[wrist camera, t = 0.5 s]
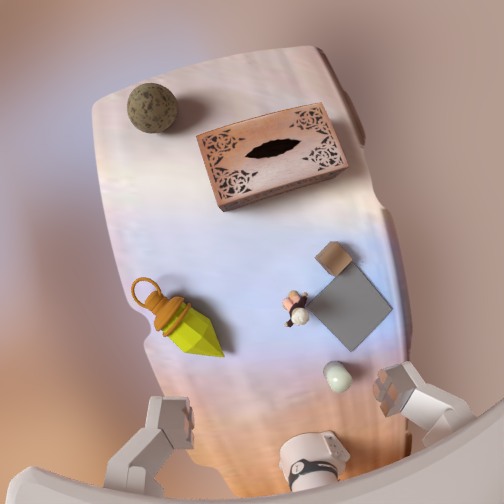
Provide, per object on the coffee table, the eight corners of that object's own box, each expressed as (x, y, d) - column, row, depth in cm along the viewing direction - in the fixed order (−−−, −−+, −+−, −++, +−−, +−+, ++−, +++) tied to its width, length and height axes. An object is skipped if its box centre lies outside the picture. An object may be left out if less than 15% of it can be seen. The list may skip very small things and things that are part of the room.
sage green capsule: (346, 368, 60) (356, 381, 53) (331, 382, 60) (339, 396, 53) (334, 356, 60) (343, 369, 53) (319, 371, 60) (326, 384, 53)
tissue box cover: (223, 212, 59) (218, 206, 49) (204, 152, 58) (195, 136, 48) (334, 177, 59) (348, 166, 49) (311, 121, 58) (321, 102, 48)
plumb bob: (240, 334, 60) (153, 260, 56) (236, 358, 51) (134, 275, 47) (215, 355, 62) (132, 287, 58) (208, 380, 53) (114, 305, 50)
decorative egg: (137, 142, 58) (110, 118, 43) (144, 103, 57) (121, 73, 42) (180, 139, 58) (161, 111, 43) (185, 100, 57) (170, 66, 42)
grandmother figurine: (288, 283, 59) (298, 294, 46) (304, 289, 59) (318, 301, 46) (276, 316, 59) (283, 335, 47) (292, 321, 59) (303, 341, 47)
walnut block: (344, 258, 59) (352, 259, 54) (329, 274, 59) (336, 276, 54) (330, 241, 59) (337, 241, 54) (314, 257, 59) (320, 259, 54)
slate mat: (390, 308, 59) (391, 309, 58) (349, 350, 60) (350, 352, 59) (350, 261, 59) (352, 261, 58) (306, 306, 59) (307, 307, 58)
